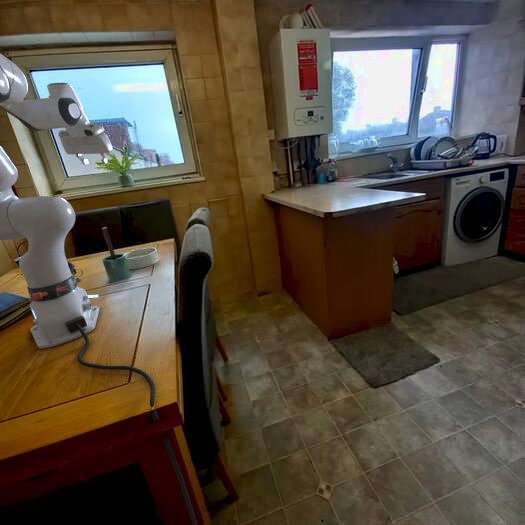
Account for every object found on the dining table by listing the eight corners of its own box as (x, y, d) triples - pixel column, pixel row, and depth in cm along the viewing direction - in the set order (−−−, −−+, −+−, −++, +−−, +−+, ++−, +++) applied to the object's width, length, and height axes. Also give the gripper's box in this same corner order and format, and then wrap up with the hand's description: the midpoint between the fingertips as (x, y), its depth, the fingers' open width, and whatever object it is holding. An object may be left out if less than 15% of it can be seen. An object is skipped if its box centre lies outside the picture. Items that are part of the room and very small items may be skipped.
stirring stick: (123, 277, 120) (108, 227, 112) (117, 279, 119) (101, 229, 111) (122, 275, 122) (107, 227, 114) (116, 277, 121) (100, 228, 113)
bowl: (163, 263, 134) (160, 251, 132) (128, 273, 126) (124, 261, 124) (154, 256, 147) (151, 245, 145) (122, 265, 138) (118, 253, 136)
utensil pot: (132, 278, 119) (126, 256, 116) (110, 284, 115) (103, 262, 112) (128, 273, 126) (122, 252, 123) (108, 279, 122) (101, 257, 118)
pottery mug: (83, 272, 136) (78, 260, 130) (74, 287, 130) (67, 276, 124) (58, 268, 135) (51, 257, 129) (47, 284, 129) (39, 272, 123)
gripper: (51, 133, 111) (69, 166, 120) (97, 131, 108) (112, 166, 117) (61, 128, 116) (78, 161, 125) (106, 126, 113) (120, 160, 122)
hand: (95, 163), depth 121 cm, fingers open, 8 cm apart
